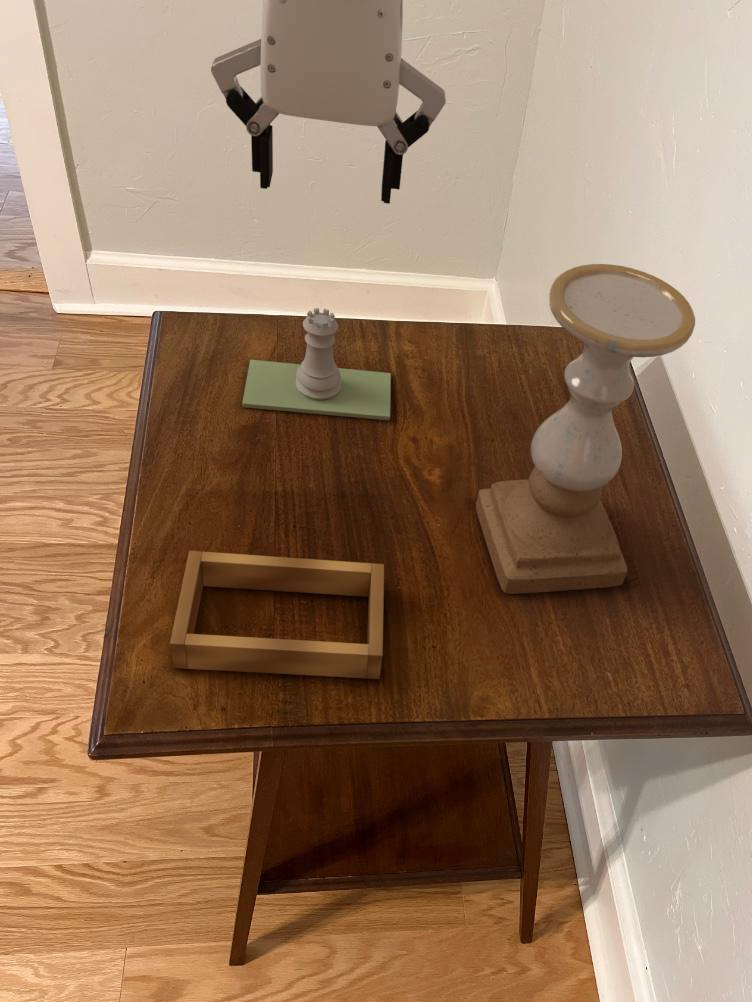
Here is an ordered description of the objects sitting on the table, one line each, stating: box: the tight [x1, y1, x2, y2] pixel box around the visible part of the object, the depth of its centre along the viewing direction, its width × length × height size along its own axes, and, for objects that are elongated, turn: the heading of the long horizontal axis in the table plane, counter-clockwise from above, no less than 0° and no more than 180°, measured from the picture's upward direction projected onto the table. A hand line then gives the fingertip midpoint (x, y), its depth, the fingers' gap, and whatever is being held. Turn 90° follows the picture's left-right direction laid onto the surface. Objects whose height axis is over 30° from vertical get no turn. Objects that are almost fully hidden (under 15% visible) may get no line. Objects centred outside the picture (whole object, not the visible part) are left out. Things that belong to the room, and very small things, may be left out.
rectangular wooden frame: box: [169, 550, 385, 680], centre depth 69 cm, size 15×9×3 cm, turn 92°
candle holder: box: [475, 263, 696, 595], centre depth 71 cm, size 11×11×24 cm
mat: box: [241, 359, 392, 421], centre depth 89 cm, size 14×7×1 cm, turn 92°
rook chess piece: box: [295, 307, 341, 400], centre depth 86 cm, size 4×4×8 cm
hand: (326, 188), depth 74 cm, fingers open, 9 cm apart
